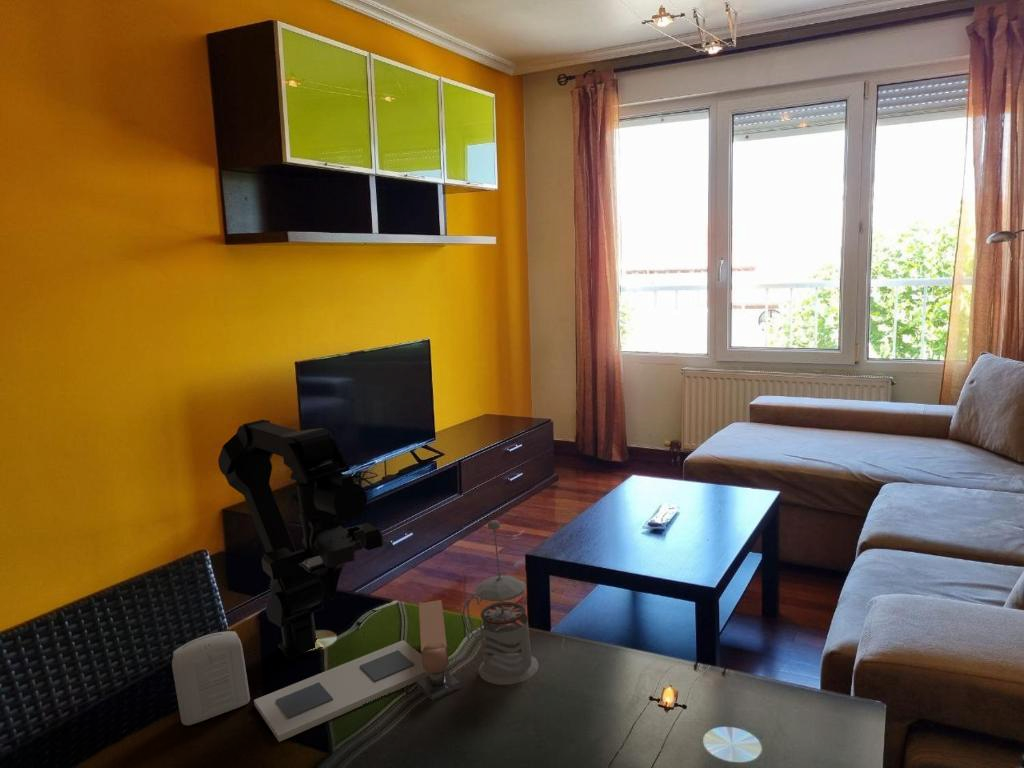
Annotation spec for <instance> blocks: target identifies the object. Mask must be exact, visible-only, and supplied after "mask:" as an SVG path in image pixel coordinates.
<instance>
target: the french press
mask: <svg viewBox="0 0 1024 768" xmlns="http://www.w3.org/2000/svg"><path fill="white" fill-rule="evenodd" d="M500 524H501V523H500V521H498V520H497V519H492V520H489V522H488V523H487V529H488V530H493V535H494V544H495V545H494V546H495V554H496V555H495V556H496V563H497V571H498V572H497V573H498V575H496V576H492V577H488V578H486V579H485V580H483V581H482V582H481V583H479V584H477V586H476V588H475V590H474V591H475V593H474V594H472V595H471V596H470V597H469V598H468V600H467V601H466V602H465V603H464V606H463V608H462V617H463V618H462V619H463V623H464V626H465V628H466V630H467V631H468V632H469V634H470V635H472V636H473V637H475V638H476V639H478V640H479V641H480V644H481V652H482V658H483V661H482V662H481V664H480V666H479V668H478V674H479V676H480V678H481V679H483V680H484V681H485V682H487V683H491V684H494V685H500V686H501V685H513V684H517V683H522V682H524V681H526V680H529V679H530V678H532V677H533V676H534V675H535V674H536V673H537V672H538V670H539V665H540V664H539V661H538V660H537V658H536V657H535V656H533V655H532V651H531V650H532V649H531V639H530V629H529V621H528V619H529V618H528V616H527V614H526V613H525V612H526V609H525V606H523V604H520V603H519V602H515V601H513V602H512V601H510V600H514V599H515V598H518V597H520V596H521V595H523V594H524V592H525V590H526V587H527V584H526V583H525V582H524V581H523V580H522V579H519V578H516V577H514V576H512V575H505V574H504V575H500V574H501V573H500V564H499V554H498V545H497V535H496V530H498V529H500V528H501V525H500ZM479 598H480V600H479ZM473 599H475V600H476V603H477V605H480V604H481V603H482V601H483V600H484V601H489V602H495V603H492V604H489V605H487V606H486V607H484V608H483V609H482V610H481V612H480V617H481V620H480V621H479V629H478V628H477V627H476V626H475V625H474V623H473V622H472V620H471V619H472V618H471V617H470V611H469V607H470V602H471V601H472V600H473ZM465 610H466V611H467V612H466V613H467V618H468V620H469V623H470V624H471V627H472V628H474V630H476V631H477V632H479V634H480V637H479V636H477V635H475V634H474V633H473V632H472V631H471V630H470V628H469V627H468V625H467V621H466V618H465V617H466V616H465ZM517 621H519V622H521V623H522V624H523V625H522V624H520V623H519V622H517ZM482 622H483V625H482ZM507 624H512V625H513V624H514V625H515V626H510V625H507ZM500 625H505V626H503V627H500V628H499V629H496V628H498V627H499V626H500ZM482 626H483V627H482ZM517 627H518V628H517ZM505 631H506V632H505ZM498 642H500V643H498ZM519 642H520V643H519Z"/></svg>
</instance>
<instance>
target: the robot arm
mask: <svg viewBox="0 0 1024 768" xmlns="http://www.w3.org/2000/svg"><path fill="white" fill-rule="evenodd" d="M274 455H276V456H279V457H282V458H283V460H282V461H283V464H284V465H285V466H286V467H288V468H289V469H290V470H291V471H292V473H291V474H290V479H291V480H293V481H295V485H296V493H297V497H298V498H297V499H298V506H299V513H298V519H299V521H300V522H301V528H302V534H303V535H302V536H303V537H301V540H302V541H301V542H302V544H303V546H304V548H303V549H300V550H297V549H296V547H295V544H294V541H293V540H292V537H291V533H290V532H289V529H288V527H287V523H286V521H285V520H284V517H283V514H282V511H281V510H280V507H279V504H278V501H277V498H276V496H275V495H274V492H273V489H272V487H271V484H270V481H271V475H272V471H273V464H272V460H271V459H272V458H273V456H274ZM218 468H219V471H220V472H221V473H222V475H224V476H225V480H226V481H227V483H228V485H229V486H230V487H231V488H233V489H234V490H236V492H238V493H239V494H241V495H243V498H244V500H245V502H246V505H247V507H248V509H249V512H250V514H251V517H252V520H253V523H254V525H255V529H256V530H257V531H256V532H257V533H258V535H259V538H260V541H261V543H262V546H263V548H264V551H265V553H264V554H263V556H262V558H261V567H262V571H263V572H265V574H267V575H268V577H270V581H269V582H270V583H269V590H270V594H271V597H270V599H269V601H268V602H267V605H266V607H265V608H264V609H265V613H266V616H267V619H268V621H269V622H270V623H272V624H274V625H275V626H277V627H279V628H281V637H282V641H281V642H279V643H277V647H278V646H279V647H278V649H279V648H280V649H281V650H282V651H283V652H284V653H285V654H286V656H287V657H288V658H292V657H294V656H295V655H297V654H298V653H300V654H301V653H303V652H305V651H308V650H310V649H313V648H315V642H316V640H317V638H316V636H317V633H316V632H317V630H316V625H315V618H314V617H315V616H314V613H316V612H318V611H321V610H324V605H325V597H326V599H328V601H332V600H334V599H335V598H336V594H337V588H338V584H339V581H340V577H341V572H342V570H343V567H344V566H345V565H346V564H348V563H351V562H354V561H355V559H356V552H357V551H360V550H363V549H366V550H367V551H371V550H373V549H377V548H380V547H383V546H384V545H385V540H384V535H383V531H382V530H381V529H379V528H377V527H376V526H373V524H370V523H369V522H364V523H362V524H361V523H360V524H357V525H355V526H352V527H350V526H348V527H345V526H344V523H343V521H347V522H350V521H354V520H356V519H358V518H359V517H361V515H362V514H363V513H364V512H365V509H366V507H367V504H368V495H367V493H366V490H365V489H364V488H363V487H362V485H360V484H359V483H355V482H354V479H353V475H352V474H349V473H347V474H346V472H349V471H350V466H349V464H348V458H347V456H346V455H345V454H344V452H343V450H342V449H341V447H340V446H339V444H338V442H337V440H336V438H335V436H334V435H333V434H332V433H331V432H330V431H329V430H328V429H327V428H322V427H321V428H311V429H304V430H303V429H302V430H296V429H294V428H289V427H286V426H283V425H280V424H277V423H272V422H270V421H269V420H268V419H259V420H254V421H250V422H246V423H242V425H239V426H238V428H237V430H236V432H235V434H234V435H233V436H232V437H231V438H230V439H229V440H228V441H226V442H225V443H224V444H223V445H222V448H221V450H220V453H219V457H218ZM344 473H345V474H344ZM280 644H281V645H280ZM280 649H279V650H280ZM281 650H280V651H281ZM282 651H281V652H282ZM283 652H282V653H283ZM284 653H283V654H284ZM285 654H284V655H285ZM291 655H292V656H291ZM286 656H285V657H286ZM287 657H286V658H287ZM288 658H287V659H288Z"/></svg>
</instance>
